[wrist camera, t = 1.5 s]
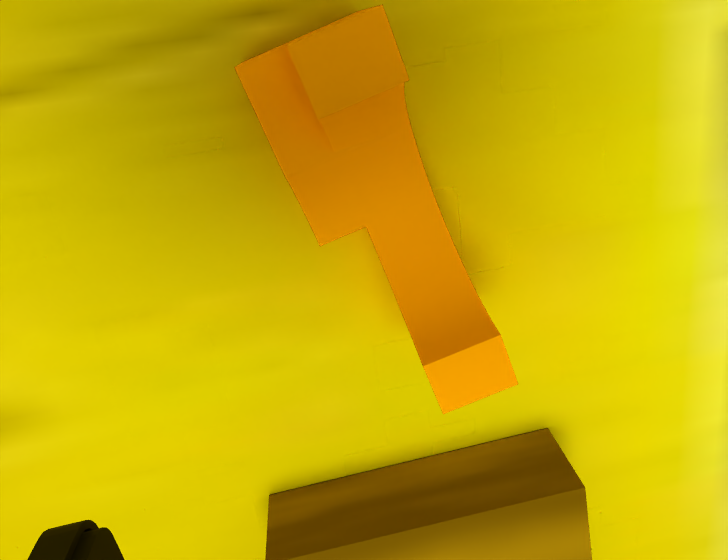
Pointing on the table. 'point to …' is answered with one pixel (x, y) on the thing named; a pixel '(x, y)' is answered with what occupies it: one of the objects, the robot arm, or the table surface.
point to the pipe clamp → (376, 188)
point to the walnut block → (441, 509)
